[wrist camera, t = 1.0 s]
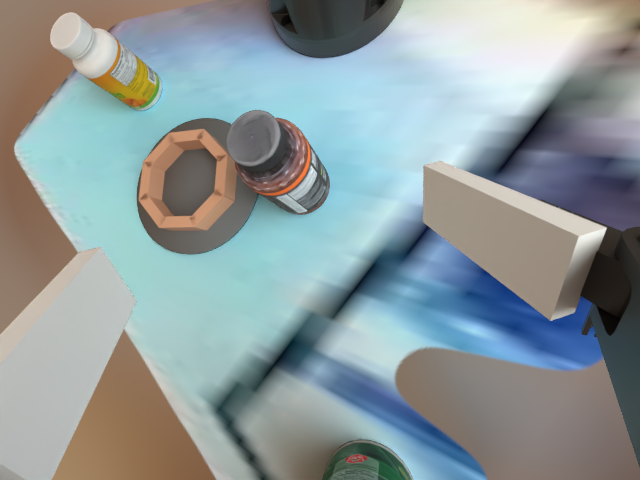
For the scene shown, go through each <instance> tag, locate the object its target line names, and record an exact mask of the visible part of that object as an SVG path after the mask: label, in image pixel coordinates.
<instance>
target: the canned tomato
mask: <svg viewBox="0 0 640 480" xmlns="http://www.w3.org/2000/svg"><path fill="white" fill-rule="evenodd" d="M322 480H413V478H412V476H411V473H410V471H409V470H408V468H407V467H406V465H405V464H404V462H403V461H402V460H401V459H400V458H399V457H398V456H397V454H395V453H394V452H393V451H391V450H390V449H389V448H387V447H385V446H383V445H382V444H380V443H377V442H373V441H369V440H356V441H351V442H349V443H346V444H344V445H343V446H341V447H340V448H338V449H337V450H336V451H335V453H334V454H333V455H332V457H331V458H330V460H329V462H328V464H327V467H326V470H325V474H324V476H323V479H322Z"/></svg>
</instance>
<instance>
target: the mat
mask: <svg viewBox="0 0 640 480" xmlns="http://www.w3.org/2000/svg"><path fill="white" fill-rule="evenodd" d="M231 126H232V125H231V124H230V123H227V122H225V121H222V120H218V119H212V118H202V119H196V120H191V121H188V122H185V123H183V124H181V125H179V126H177V127H176V128H174V129H172V130H171V131H170V132H168V133H167V134H166V135H165V136H164V137H163V138H162V139H161V140H160V141H159V142H158V143H157V144H156V145H155V147H154V148H153V149H152V151H153V150H154V149H155V148H156V147H157V146H158V145H159V144H160V143H161V141H162V140H163V139H164V138H165V137H166V136H167V135H168V134H169V133H172V132H181V131H189V130H198V129H205V130H206V131H207V132H208V133H210V134H211V135H212V136H213V137H215V138H216V139H217V140H218V141H219V143H220V144H221V145H222V146H223V147H224V148H225V149H226V150H227V143H226V142H227V135H228V132H229V130H230V127H231ZM152 151H151V152H150V154H151V153H152ZM227 151H228V150H227ZM150 154H149V155H150ZM149 155H148V156H149ZM216 166H217V159H216V158H215V157H214V156H213V155H212V154H211V153H210V151H209V150H208V149H207V148H204V149H194V150H184V152H183V153H182V154H181V155H180V156H179V157H178V158H177V159H176V160H175V161H174V162H173V164H172V165H171V166H170V167H169V168H168V169H167V170H166V171H165V176H164V185H163V195H162V201H163V202H164V204H165V205H166V206H167V208H168V209H169V210H170V211H171V213H172V214H173V215H174V216H192V215H193V214H194V213H195V212H196V211H197V210H198V209H199V208H200V206H201V205H202V204H203V203H204V202H205V201H206V200H207V199H208V198H209V197H210V196H211V195H212V194H213V193H214V189H215V178H216ZM141 175H142V170H141V174H140V177H139V182H138V187H137V206H138V212H139V215H140V219H141V221H142V224H143V226H144V228H145V229H146V231H147V233H148V234H149V235H150V236H151V238H152V239H153V240H154V241H155V242H157V243H158V244H159V245H161V246H162V247H164V248H165V249H168V250H170V251H173V252H177V253H182V254H200V253H204V252H208V251H211V250H213V249H216V248H218V247H219V246H221V245H223V244H224V243H226V242H227V241H229V240H230V239H231V238H232V237H233V236H234V235H236V234H237V233H238V231H239V230H240V229H241V228H242V227H243V226H244V224H245V223H246V221H247V220H248V218H249V216H250V214H251V212H252V210H253V208H254V206H255V203H256V200H257V196H258V193H257V192H255V191H254V190H253V189H251V188H249V187H248V186H247V185H246V184H245V183H244V182H243V181H242V180H241V178H240V177H239V175H238V173H237V177H236V191H235V201H234V203H233V204H232V205H231V206H230V207H229V208H228V209H227V210H226V211H225V212H224V213H223V214H222V215H221V216H220V217H219V218H218V219H217V220H216V221H215V222H214V224H213V225H212V226H211V227H210V228H209V229H208V230H200V231H171V230H167V229H163V228H159V227H158V226H157V224H156V223H155V222H154V220H153V219H152V218H151V216H150V215H149V214H148V212H147V211H146V210H145V208H144V207H143V206H142V204H141V203H140V201H139V192H140V184H141Z"/></svg>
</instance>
